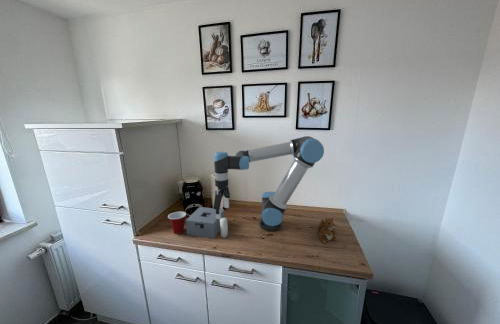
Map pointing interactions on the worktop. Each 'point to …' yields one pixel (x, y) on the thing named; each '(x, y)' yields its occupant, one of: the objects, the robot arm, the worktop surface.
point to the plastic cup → (177, 221)
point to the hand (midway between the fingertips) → (222, 212)
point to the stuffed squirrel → (326, 230)
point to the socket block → (204, 223)
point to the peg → (223, 227)
